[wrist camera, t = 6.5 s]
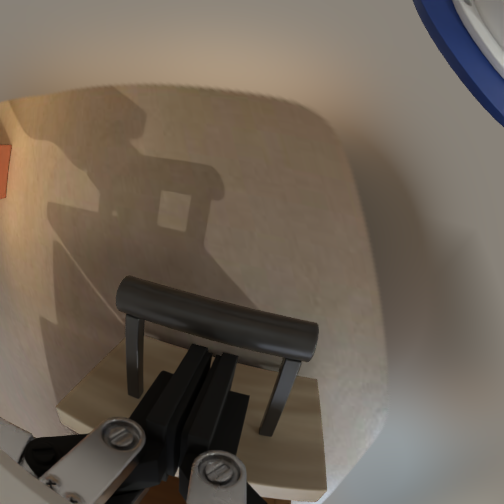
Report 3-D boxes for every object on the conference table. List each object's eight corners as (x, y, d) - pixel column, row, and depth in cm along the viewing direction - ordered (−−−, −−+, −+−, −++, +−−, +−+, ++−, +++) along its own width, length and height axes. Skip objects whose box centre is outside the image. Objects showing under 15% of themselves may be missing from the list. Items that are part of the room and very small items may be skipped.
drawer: (137, 239, 15) (30, 283, 7) (350, 289, 14) (403, 386, 6) (138, 451, 19) (103, 512, 12) (264, 485, 18) (253, 557, 11)
